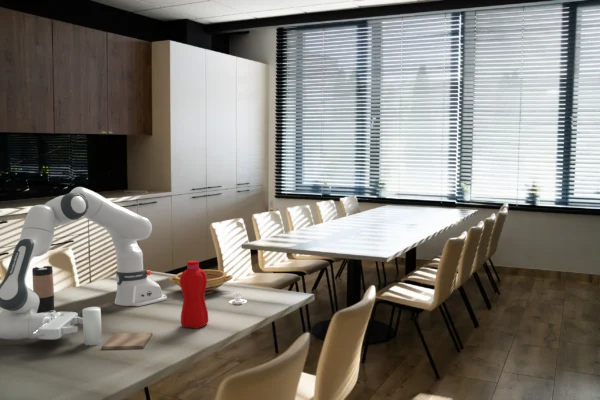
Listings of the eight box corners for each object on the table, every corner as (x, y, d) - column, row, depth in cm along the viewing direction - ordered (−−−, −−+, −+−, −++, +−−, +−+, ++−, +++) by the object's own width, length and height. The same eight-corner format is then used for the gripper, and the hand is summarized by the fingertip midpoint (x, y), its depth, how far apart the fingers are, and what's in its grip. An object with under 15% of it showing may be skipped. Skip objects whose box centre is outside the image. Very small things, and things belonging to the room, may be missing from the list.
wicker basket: (166, 299, 265) (165, 281, 265) (172, 286, 290) (172, 270, 289) (232, 296, 268) (232, 279, 267) (233, 284, 292) (233, 268, 291)
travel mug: (47, 319, 236) (44, 270, 234) (30, 318, 238) (27, 269, 236) (59, 314, 243) (56, 266, 242) (42, 313, 245) (39, 265, 243)
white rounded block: (99, 338, 212) (97, 305, 211) (104, 343, 207) (102, 309, 206) (81, 342, 208) (80, 308, 207) (86, 346, 203) (85, 312, 202)
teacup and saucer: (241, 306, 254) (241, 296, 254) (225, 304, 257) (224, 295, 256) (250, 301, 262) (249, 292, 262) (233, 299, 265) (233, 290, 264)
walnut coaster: (101, 349, 200) (101, 346, 200) (113, 336, 214) (113, 333, 214) (143, 348, 201) (143, 345, 201) (152, 335, 215) (152, 332, 215)
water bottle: (213, 321, 231) (211, 258, 228) (199, 329, 220) (197, 263, 218) (192, 319, 234) (190, 257, 231) (177, 327, 223) (175, 262, 221)
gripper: (29, 326, 196) (71, 325, 196) (53, 308, 216) (91, 308, 217) (30, 344, 197) (72, 343, 197) (53, 325, 217) (91, 325, 217)
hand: (82, 325), depth 207 cm, fingers open, 8 cm apart
